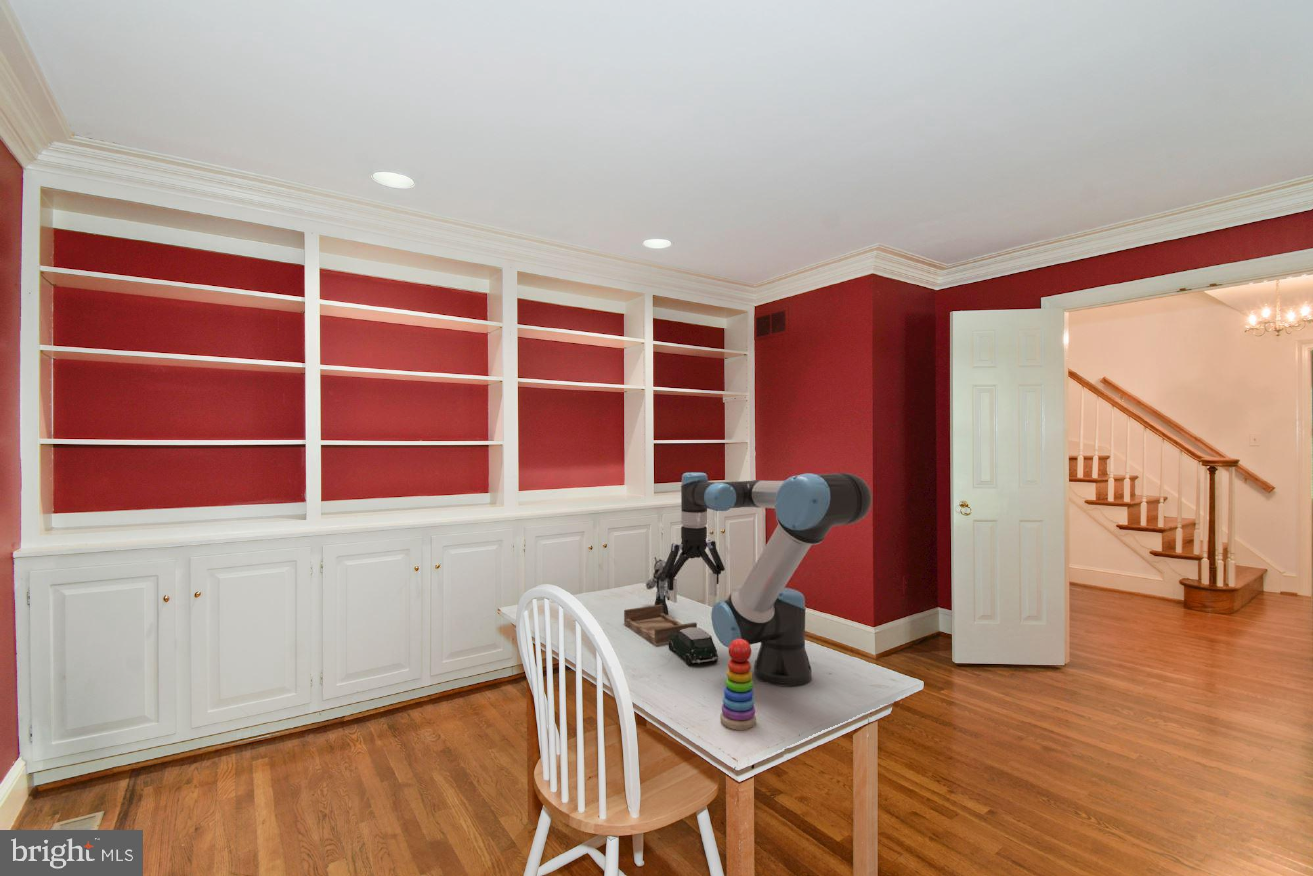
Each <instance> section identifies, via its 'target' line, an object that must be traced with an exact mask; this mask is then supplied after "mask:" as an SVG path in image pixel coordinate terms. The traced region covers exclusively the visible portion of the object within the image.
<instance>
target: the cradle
mask: <svg viewBox="0 0 1313 876" xmlns="http://www.w3.org/2000/svg"><path fill="white" fill-rule="evenodd" d="M623 613H624V615H623V622H624V623H623V625H624V626H626V627H627V628H628V629H630V630H631V631H633V632H634V633H635V634H637V635H639V636H640V637H641V638H642V639H644V640H646V641H647V642H649V643H650V644H652V645H653V646H654V647H661V646H667V645H668V646H669V639H670V634H671V633H674V634H675V633H679V631H680V630H682V629H684V628H693V627H696V628H698V623H697V622H693V621H692V622H687V623H682V622H680V621H678V620H676V619H674V618H673V617H671V616H669V615H665V614H664V613H663V605H662V604H661V605H655V604H653V605H649V606H641V607H635V608H628V609H627V608H626V609H624V612H623Z"/></svg>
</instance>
